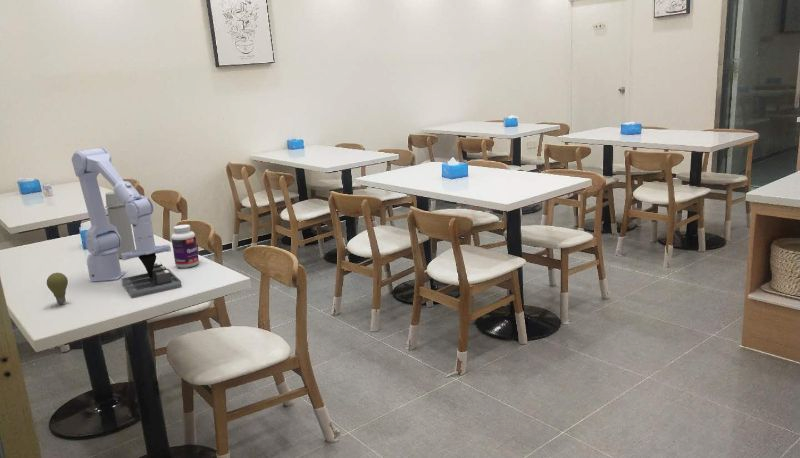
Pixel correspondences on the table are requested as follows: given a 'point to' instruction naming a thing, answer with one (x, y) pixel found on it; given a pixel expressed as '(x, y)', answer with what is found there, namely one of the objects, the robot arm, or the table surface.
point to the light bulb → (58, 286)
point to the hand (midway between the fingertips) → (150, 276)
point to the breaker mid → (158, 271)
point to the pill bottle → (184, 247)
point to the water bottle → (120, 222)
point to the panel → (147, 285)
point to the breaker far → (157, 265)
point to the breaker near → (163, 277)
